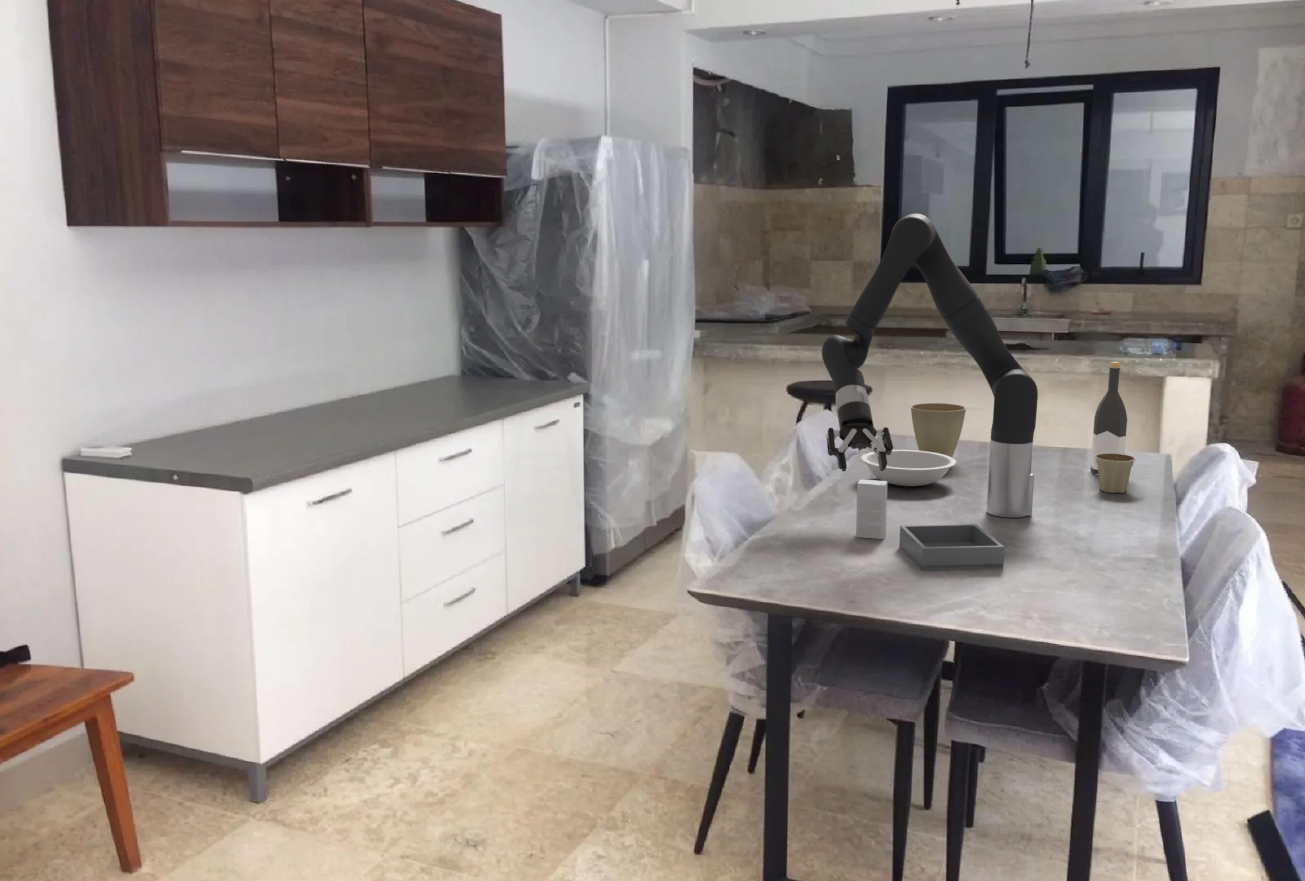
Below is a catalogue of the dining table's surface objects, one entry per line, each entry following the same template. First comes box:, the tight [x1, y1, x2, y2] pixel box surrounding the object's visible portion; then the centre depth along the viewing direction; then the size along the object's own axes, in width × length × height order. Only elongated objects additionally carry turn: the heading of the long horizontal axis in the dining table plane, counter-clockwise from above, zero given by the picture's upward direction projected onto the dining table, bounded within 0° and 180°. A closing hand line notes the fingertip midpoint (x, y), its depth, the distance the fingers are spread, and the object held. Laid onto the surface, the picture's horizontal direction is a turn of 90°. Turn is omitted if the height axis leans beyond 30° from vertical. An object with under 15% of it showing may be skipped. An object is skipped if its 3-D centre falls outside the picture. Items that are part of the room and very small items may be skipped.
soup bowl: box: [860, 449, 957, 487], centre depth 275 cm, size 24×24×7 cm
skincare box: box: [855, 479, 888, 540], centre depth 229 cm, size 6×4×12 cm
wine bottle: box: [1090, 361, 1128, 475], centre depth 282 cm, size 8×8×30 cm
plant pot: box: [910, 402, 967, 458], centre depth 298 cm, size 15×15×16 cm
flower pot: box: [1095, 453, 1137, 494], centre depth 266 cm, size 9×9×9 cm
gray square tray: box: [898, 523, 1005, 572], centre depth 214 cm, size 16×16×4 cm
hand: (863, 469), depth 235 cm, fingers open, 8 cm apart
